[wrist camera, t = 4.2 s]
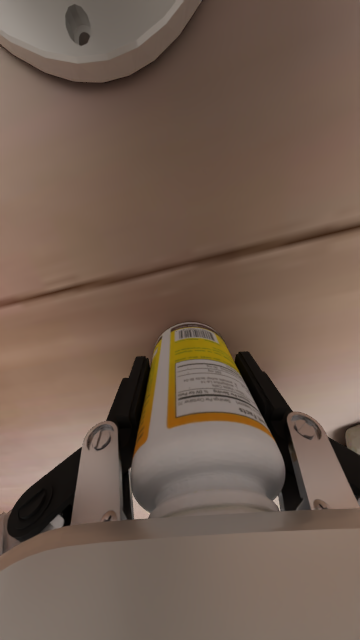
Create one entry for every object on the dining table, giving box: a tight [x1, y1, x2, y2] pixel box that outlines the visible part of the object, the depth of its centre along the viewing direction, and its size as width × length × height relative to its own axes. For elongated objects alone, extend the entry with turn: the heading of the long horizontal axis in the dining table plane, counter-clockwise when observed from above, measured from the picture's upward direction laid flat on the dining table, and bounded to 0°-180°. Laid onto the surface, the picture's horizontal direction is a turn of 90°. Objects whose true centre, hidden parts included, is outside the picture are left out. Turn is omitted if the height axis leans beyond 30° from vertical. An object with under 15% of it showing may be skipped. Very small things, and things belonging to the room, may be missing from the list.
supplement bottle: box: [130, 322, 285, 519], centre depth 8 cm, size 6×6×10 cm
